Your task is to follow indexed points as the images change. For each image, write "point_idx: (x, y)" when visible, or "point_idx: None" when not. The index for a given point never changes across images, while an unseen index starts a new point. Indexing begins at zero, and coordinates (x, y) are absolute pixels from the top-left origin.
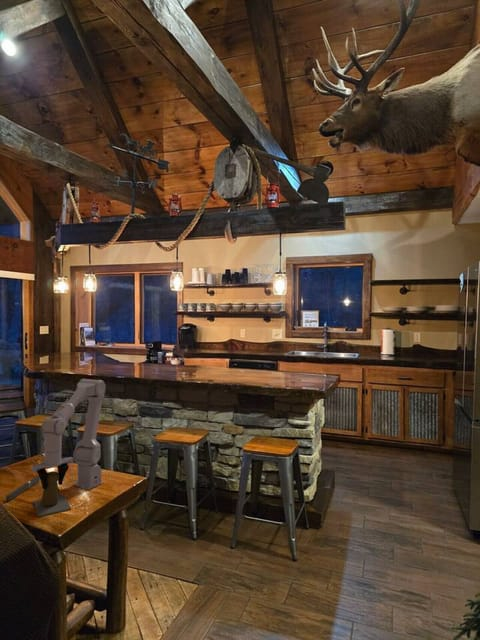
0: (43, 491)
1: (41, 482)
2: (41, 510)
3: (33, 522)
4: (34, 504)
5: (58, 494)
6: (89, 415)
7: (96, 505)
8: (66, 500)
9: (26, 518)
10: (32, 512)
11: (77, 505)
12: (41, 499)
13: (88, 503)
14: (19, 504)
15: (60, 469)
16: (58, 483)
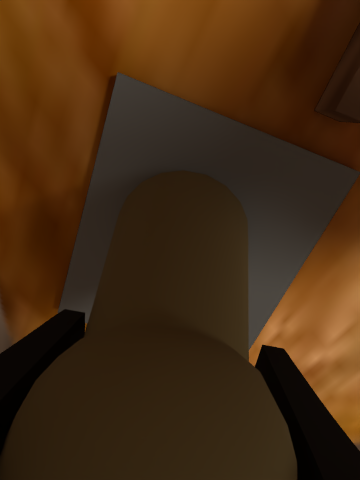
0: (103, 268)
1: (8, 354)
2: (98, 274)
3: (26, 335)
4: (98, 149)
5: (338, 119)
6: None
7: (350, 425)
8: (290, 275)
9: (7, 272)
10: (57, 232)
11: (292, 356)
12: (122, 209)
13: (347, 382)
14: (19, 9)
15: None
16: (260, 358)
